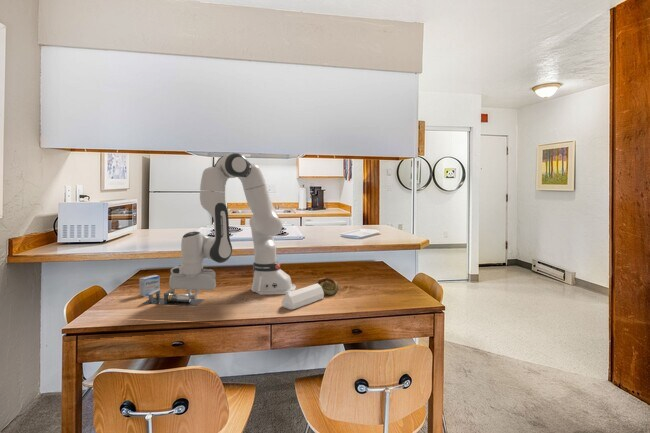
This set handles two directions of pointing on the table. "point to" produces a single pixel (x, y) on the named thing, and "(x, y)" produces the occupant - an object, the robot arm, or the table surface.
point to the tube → (178, 298)
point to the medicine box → (149, 284)
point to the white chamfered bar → (302, 296)
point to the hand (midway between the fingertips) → (193, 298)
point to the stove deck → (165, 300)
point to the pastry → (328, 286)
